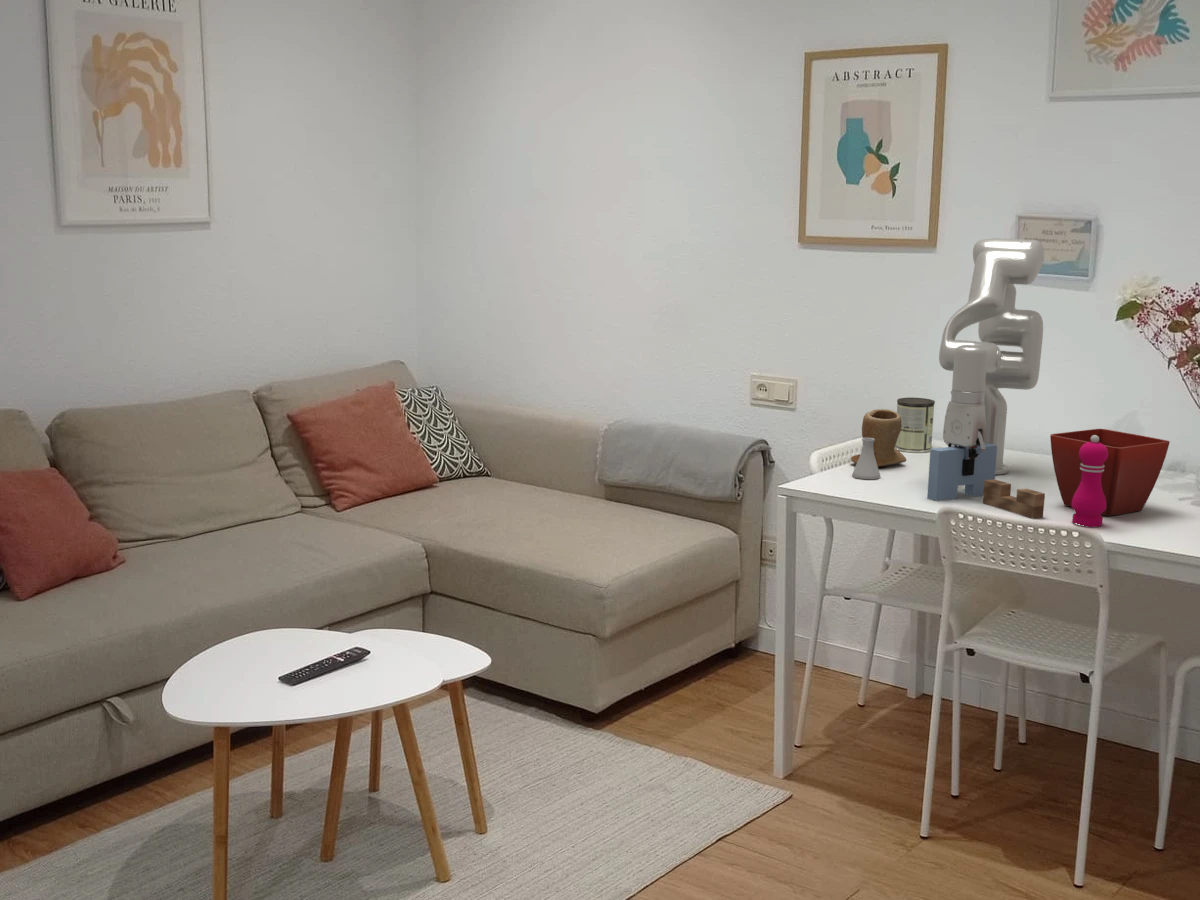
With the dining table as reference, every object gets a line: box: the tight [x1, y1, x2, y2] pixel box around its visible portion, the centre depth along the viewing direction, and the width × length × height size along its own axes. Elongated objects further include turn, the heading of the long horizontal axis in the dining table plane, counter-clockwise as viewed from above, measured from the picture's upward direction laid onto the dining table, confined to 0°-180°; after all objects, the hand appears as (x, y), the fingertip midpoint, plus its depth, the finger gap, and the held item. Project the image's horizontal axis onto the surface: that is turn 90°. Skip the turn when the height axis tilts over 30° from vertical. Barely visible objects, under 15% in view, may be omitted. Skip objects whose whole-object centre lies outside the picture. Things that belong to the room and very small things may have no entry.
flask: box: [851, 437, 882, 480], centre depth 333 cm, size 7×7×10 cm
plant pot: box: [1049, 428, 1170, 517], centre depth 303 cm, size 19×19×17 cm
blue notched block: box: [926, 443, 997, 502], centre depth 313 cm, size 18×3×12 cm, turn 117°
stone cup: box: [850, 408, 907, 468], centre depth 347 cm, size 15×12×15 cm
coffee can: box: [895, 397, 936, 454], centre depth 369 cm, size 10×10×14 cm
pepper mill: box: [1071, 435, 1108, 528], centre depth 288 cm, size 7×7×20 cm
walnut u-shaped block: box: [982, 479, 1046, 519], centre depth 301 cm, size 16×3×6 cm, turn 27°
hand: (962, 472), depth 314 cm, fingers closed on blue notched block, 3 cm apart
